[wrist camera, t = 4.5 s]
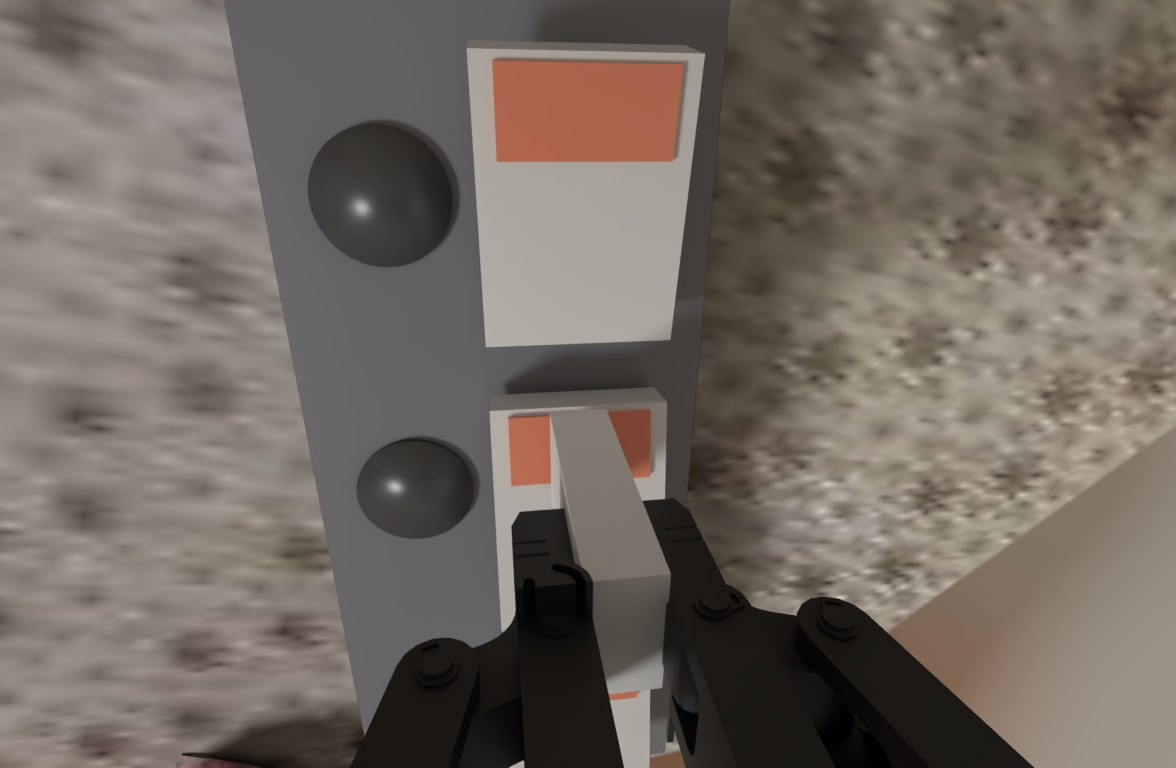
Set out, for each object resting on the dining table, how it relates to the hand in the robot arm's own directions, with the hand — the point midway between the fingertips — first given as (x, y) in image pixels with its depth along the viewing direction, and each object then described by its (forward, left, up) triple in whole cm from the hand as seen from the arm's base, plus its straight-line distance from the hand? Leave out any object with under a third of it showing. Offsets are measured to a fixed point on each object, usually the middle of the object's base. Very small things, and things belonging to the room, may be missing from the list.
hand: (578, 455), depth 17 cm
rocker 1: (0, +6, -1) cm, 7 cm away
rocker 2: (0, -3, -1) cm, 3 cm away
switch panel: (-2, -3, -7) cm, 8 cm away
